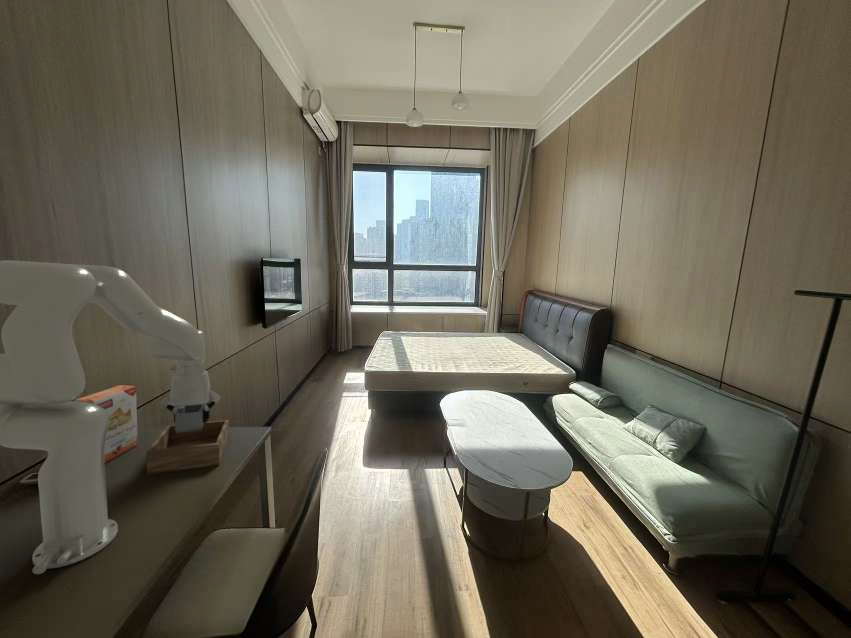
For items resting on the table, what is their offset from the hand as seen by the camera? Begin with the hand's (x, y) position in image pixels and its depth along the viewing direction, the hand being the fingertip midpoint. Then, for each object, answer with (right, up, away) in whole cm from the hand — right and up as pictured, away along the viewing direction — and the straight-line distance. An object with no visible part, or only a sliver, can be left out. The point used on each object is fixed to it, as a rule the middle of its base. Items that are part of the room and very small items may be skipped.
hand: (192, 421), depth 106 cm
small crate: (0, -1, 0) cm, 1 cm away
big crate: (-1, -11, +1) cm, 11 cm away
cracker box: (-24, -10, -2) cm, 26 cm away
